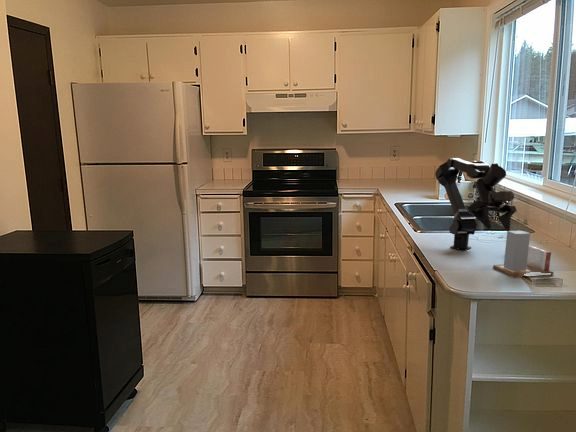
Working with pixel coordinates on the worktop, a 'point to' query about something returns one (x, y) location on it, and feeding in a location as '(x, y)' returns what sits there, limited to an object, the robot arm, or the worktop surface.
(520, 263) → the tall blue-gray box
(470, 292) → the worktop surface
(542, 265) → the shelf board
